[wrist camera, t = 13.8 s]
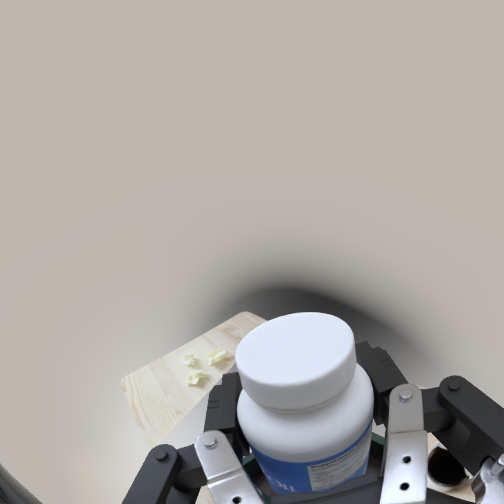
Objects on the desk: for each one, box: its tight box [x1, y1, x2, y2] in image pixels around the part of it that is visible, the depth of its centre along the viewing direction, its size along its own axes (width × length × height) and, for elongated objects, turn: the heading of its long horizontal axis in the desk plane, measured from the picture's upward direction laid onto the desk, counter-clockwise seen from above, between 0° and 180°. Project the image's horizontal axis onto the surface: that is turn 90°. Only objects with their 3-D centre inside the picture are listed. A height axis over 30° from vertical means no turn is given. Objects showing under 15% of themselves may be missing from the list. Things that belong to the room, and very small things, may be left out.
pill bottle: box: [235, 312, 374, 495], centre depth 10 cm, size 6×5×10 cm
